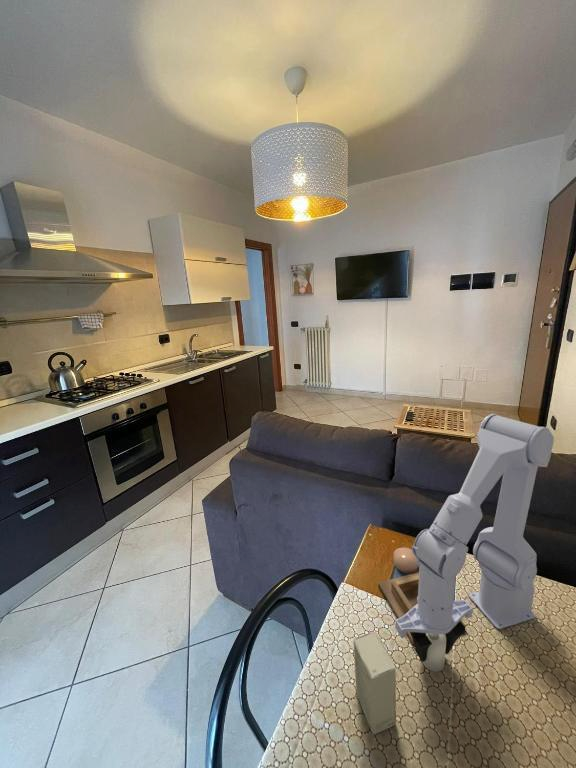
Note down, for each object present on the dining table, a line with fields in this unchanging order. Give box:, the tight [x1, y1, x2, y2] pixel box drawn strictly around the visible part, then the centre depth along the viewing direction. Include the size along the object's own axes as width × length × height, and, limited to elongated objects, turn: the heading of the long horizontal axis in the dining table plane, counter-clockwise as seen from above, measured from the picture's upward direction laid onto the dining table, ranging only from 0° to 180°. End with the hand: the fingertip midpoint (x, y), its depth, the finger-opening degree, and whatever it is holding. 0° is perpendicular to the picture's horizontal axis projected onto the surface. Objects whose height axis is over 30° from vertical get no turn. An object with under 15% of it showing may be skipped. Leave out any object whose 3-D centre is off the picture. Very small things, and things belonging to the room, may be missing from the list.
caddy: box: [377, 571, 466, 646], centre depth 69 cm, size 12×14×4 cm
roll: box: [421, 633, 446, 673], centre depth 59 cm, size 4×4×6 cm
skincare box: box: [353, 631, 397, 735], centre depth 51 cm, size 6×4×12 cm
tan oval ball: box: [393, 547, 419, 575], centre depth 81 cm, size 6×6×2 cm
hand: (432, 652), depth 59 cm, fingers closed on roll, 4 cm apart
